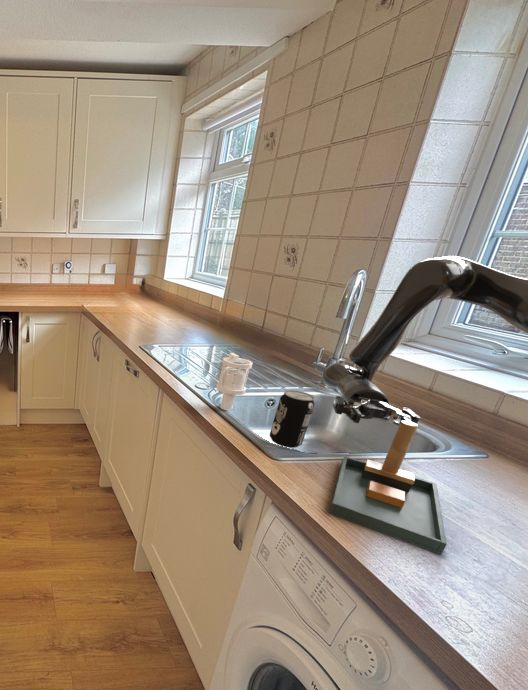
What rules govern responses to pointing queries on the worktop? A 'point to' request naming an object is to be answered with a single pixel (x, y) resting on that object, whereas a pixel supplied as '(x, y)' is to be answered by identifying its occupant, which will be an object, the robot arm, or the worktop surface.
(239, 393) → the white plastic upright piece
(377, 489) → the orange wooden block
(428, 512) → the tray
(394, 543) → the worktop surface
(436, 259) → the robot arm
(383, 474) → the brush
